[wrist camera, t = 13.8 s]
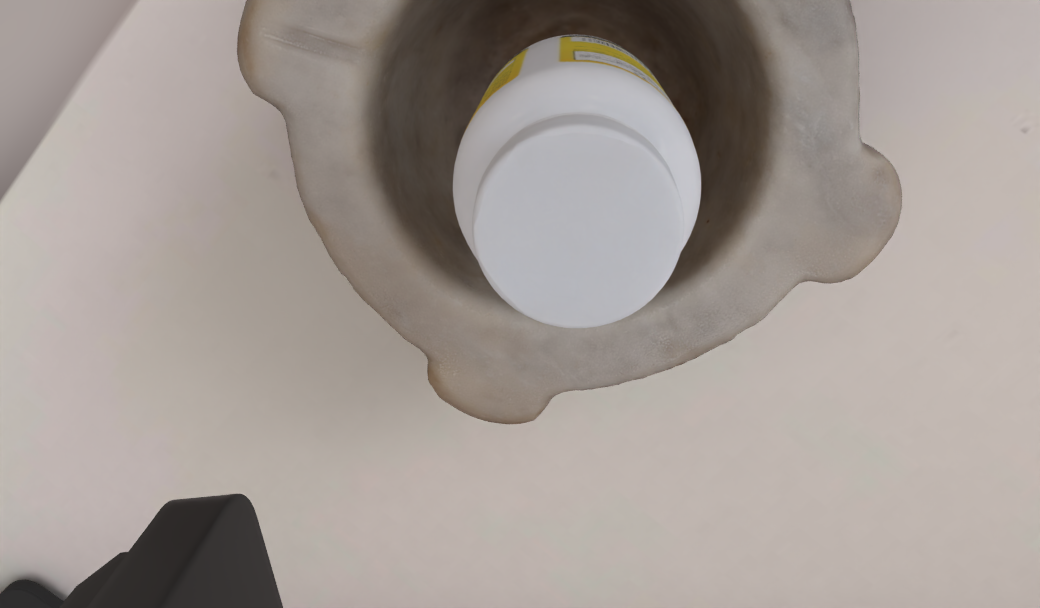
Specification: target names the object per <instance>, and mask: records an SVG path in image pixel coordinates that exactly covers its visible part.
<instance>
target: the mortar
mask: <svg viewBox="0 0 1040 608" xmlns="http://www.w3.org/2000/svg"><path fill="white" fill-rule="evenodd" d="M562 35H588V36H594V37H598V38H601V39H605V40H608V41H610V42H613V43H615V44H617V45H619V46H621V47H623V48H624V49H626V50H627V51H629V52H630V53H632V54H633V55H635V56H636V57H637V58H638V59H639V60H641V61H642V62H643V63H644V64H645V65H646V66H647V67H648V68H649V70H650V71H651V72H652V73H653V75H654V77H655V78H656V79H657V81H658V82H659V84H660V85H661V87H662V88H663V90H664V92H665V93H666V95H667V96H668V98H669V99H670V101H671V102H672V104H673V106H674V107H675V109H676V110H677V111H678V113H679V114H680V116H681V118H682V119H683V121H684V123H685V125H686V126H687V129H688V131H689V133H690V136H691V138H692V141H693V143H694V147H695V150H696V153H697V157H698V161H699V166H700V173H701V199H700V206H699V210H698V215H697V219H696V222H695V225H694V227H693V230H692V232H691V235H690V237H689V239H688V241H687V243H686V245H685V246H684V248H683V250H682V251H681V253H680V256H679V259H678V261H677V264H676V266H675V268H674V270H673V272H672V274H671V276H670V278H669V279H668V281H667V282H666V284H665V285H664V286H663V288H662V289H661V290H660V291H659V292H658V293H657V294H656V296H655V297H654V298H653V299H652V300H651V301H649V302H648V303H647V304H646V305H645V306H643V307H642V308H641V309H639V310H638V311H636V312H635V313H633V314H631V315H629V316H627V317H625V318H623V319H621V320H619V321H616V322H613V323H610V324H606V325H602V326H598V327H591V328H563V327H557V326H552V325H548V324H544V323H541V322H539V321H536V320H534V319H532V318H530V317H527V316H525V315H524V314H522V313H521V312H519V311H517V310H515V309H514V308H513V307H512V306H510V305H509V304H508V303H507V302H506V301H505V300H504V299H502V298H501V297H500V296H499V294H498V293H497V292H496V291H495V290H494V289H493V287H492V286H491V285H490V283H489V282H488V280H487V279H486V277H485V275H484V273H483V271H482V269H481V267H480V265H479V262H478V260H477V259H476V257H475V256H474V254H473V253H472V251H471V249H470V247H469V246H468V244H467V242H466V240H465V237H464V235H463V233H462V231H461V228H460V226H459V223H458V219H457V216H456V212H455V206H454V198H453V174H454V165H455V161H456V157H457V153H458V149H459V146H460V143H461V140H462V137H463V135H464V133H465V130H466V128H467V126H468V124H469V122H470V120H471V118H472V116H473V115H474V113H475V111H476V109H477V107H478V106H479V104H480V102H481V100H482V98H483V96H484V94H485V92H486V90H487V89H488V87H489V85H490V83H491V81H492V80H493V79H494V77H495V76H496V74H497V73H498V72H499V71H500V70H501V68H502V67H503V66H504V65H505V64H506V63H507V62H508V61H509V60H510V59H511V58H513V57H514V56H515V55H516V54H517V53H519V52H521V51H522V50H524V49H525V48H527V47H529V46H531V45H533V44H534V43H537V42H539V41H542V40H545V39H548V38H552V37H556V36H562ZM237 55H238V62H239V66H240V70H241V73H242V75H243V77H244V79H245V81H246V83H247V84H248V86H249V88H250V89H251V91H252V92H253V94H255V95H256V96H258V97H260V98H262V99H264V100H265V101H267V102H269V103H270V104H272V105H273V106H274V107H276V108H277V109H278V110H279V111H280V112H281V113H282V115H283V117H284V119H285V122H286V127H287V132H288V138H289V143H290V149H291V157H292V160H293V164H294V170H295V177H296V183H297V188H298V191H299V194H300V197H301V200H302V202H303V205H304V208H305V210H306V213H307V215H308V218H309V220H310V222H311V223H312V225H313V226H314V228H315V229H316V231H317V233H318V235H319V236H320V238H321V239H322V241H323V243H324V245H325V247H326V249H327V251H328V253H329V255H330V257H331V259H332V260H333V262H334V263H335V265H336V267H337V268H338V270H339V271H340V273H341V274H342V275H344V276H345V277H346V278H347V280H348V281H349V283H350V284H351V285H352V287H353V288H354V290H355V291H356V292H357V293H358V294H359V296H360V297H361V298H362V299H363V300H364V301H365V302H366V303H367V304H368V305H370V306H371V307H372V308H373V309H374V310H375V311H376V312H377V313H378V314H380V316H381V317H382V318H383V319H384V320H385V321H387V322H388V323H389V325H390V326H391V327H393V328H394V329H395V330H396V331H397V332H398V333H399V334H400V335H401V336H402V337H403V338H404V339H405V340H407V341H408V342H410V343H411V344H413V345H414V346H416V347H417V348H419V349H420V350H421V351H422V352H424V354H425V355H426V356H427V359H428V370H427V371H428V380H429V383H430V384H431V385H432V387H433V389H434V390H435V392H436V393H437V395H438V396H439V397H440V398H441V399H442V400H444V401H445V402H447V403H448V404H450V405H451V406H453V407H455V408H456V409H458V410H460V411H462V412H464V413H466V414H468V415H470V416H472V417H475V418H478V419H481V420H484V421H488V422H494V423H501V424H521V423H525V422H529V421H533V420H535V419H536V417H537V416H539V414H540V413H541V412H542V411H543V410H544V408H545V407H546V406H547V405H548V403H549V402H550V400H551V399H552V398H553V397H554V396H555V395H557V394H559V393H562V392H566V391H572V390H587V389H595V388H601V387H608V386H613V385H619V384H621V383H624V382H627V381H631V380H636V379H641V378H645V377H647V376H650V375H652V374H655V373H658V372H662V371H665V370H668V369H671V368H673V367H675V366H678V365H681V364H683V363H685V362H687V361H689V360H692V359H695V358H697V357H699V356H700V355H702V354H704V353H706V352H708V351H710V350H712V349H714V348H715V347H717V346H719V345H721V344H724V343H726V342H728V341H731V340H732V339H733V338H734V337H735V336H736V335H737V334H739V333H741V332H742V331H743V330H745V329H747V328H749V327H751V326H754V325H755V324H757V323H758V322H759V321H761V320H762V319H763V318H765V317H766V316H767V315H768V313H769V312H770V311H771V310H772V309H773V308H774V307H775V306H776V305H777V303H778V302H779V301H781V300H782V299H783V298H784V297H785V296H786V294H787V293H788V292H789V291H790V290H792V289H793V288H794V287H795V286H796V285H797V284H799V283H801V282H805V281H814V282H820V283H837V282H842V281H845V280H848V279H851V278H852V277H854V276H856V275H857V274H858V273H860V272H861V271H862V270H863V269H864V268H865V267H866V266H868V265H869V264H870V263H871V262H872V261H873V260H874V259H875V258H876V256H877V255H878V254H879V253H880V251H881V250H882V249H883V248H884V246H885V245H886V243H887V242H888V241H889V239H890V238H891V237H892V235H893V234H894V231H895V229H896V227H897V224H898V221H899V218H900V213H901V208H902V190H901V184H900V180H899V177H898V174H897V172H896V170H895V169H894V167H893V166H892V164H891V163H890V162H889V161H888V160H887V159H886V158H885V157H884V156H883V155H882V154H881V153H879V152H878V151H876V150H875V149H874V148H872V147H870V146H869V145H867V144H865V143H863V142H862V141H861V139H860V135H859V100H860V93H859V52H858V41H857V32H856V24H855V18H854V15H853V13H852V8H851V4H850V1H849V0H247V1H246V4H245V7H244V11H243V14H242V18H241V22H240V27H239V32H238V43H237Z"/></svg>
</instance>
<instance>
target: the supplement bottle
mask: <svg viewBox="0 0 1040 608" xmlns="http://www.w3.org/2000/svg"><path fill="white" fill-rule="evenodd" d="M453 198H454V206H455V212H456V216H457V219H458V223H459V226H460V228H461V231H462V233H463V235H464V237H465V240H466V242H467V244H468V246H469V247H470V249H471V251H472V253H473V254H474V256H475V257H476V259H477V260H478V262H479V265H480V267H481V269H482V271H483V273H484V275H485V277H486V279H487V280H488V282H489V283H490V285H491V286H492V287H493V289H494V290H495V291H496V292H497V293H498V294H499V296H500V297H501V298H502V299H504V300H505V301H506V302H507V303H508V304H509V305H510V306H512V307H513V308H514V309H515V310H517V311H519V312H521V313H522V314H524V315H525V316H527V317H530V318H532V319H534V320H536V321H539V322H541V323H544V324H548V325H552V326H557V327H563V328H591V327H598V326H602V325H606V324H610V323H613V322H616V321H619V320H621V319H623V318H625V317H627V316H629V315H631V314H633V313H635V312H636V311H638V310H639V309H641V308H642V307H643V306H645V305H646V304H647V303H648V302H649V301H651V300H652V299H653V298H654V297H655V296H656V294H657V293H658V292H659V291H660V290H661V289H662V288H663V286H664V285H665V284H666V282H667V281H668V279H669V278H670V276H671V274H672V272H673V270H674V268H675V266H676V264H677V261H678V259H679V256H680V253H681V251H682V250H683V248H684V246H685V245H686V243H687V241H688V239H689V237H690V235H691V232H692V230H693V227H694V225H695V222H696V219H697V215H698V210H699V206H700V199H701V173H700V166H699V161H698V157H697V153H696V150H695V147H694V143H693V141H692V138H691V136H690V133H689V131H688V129H687V126H686V125H685V123H684V121H683V119H682V118H681V116H680V114H679V113H678V111H677V110H676V109H675V107H674V106H673V104H672V102H671V101H670V99H669V98H668V96H667V95H666V93H665V92H664V90H663V88H662V87H661V85H660V84H659V82H658V81H657V79H656V78H655V77H654V75H653V73H652V72H651V71H650V70H649V68H648V67H647V66H646V65H645V64H644V63H643V62H642V61H641V60H639V59H638V58H637V57H636V56H635V55H633V54H632V53H630V52H629V51H627V50H626V49H624V48H623V47H621V46H619V45H617V44H615V43H613V42H610V41H608V40H605V39H601V38H598V37H594V36H588V35H562V36H556V37H552V38H548V39H545V40H542V41H539V42H537V43H534V44H533V45H531V46H529V47H527V48H525V49H524V50H522V51H521V52H519V53H517V54H516V55H515V56H514V57H513V58H511V59H510V60H509V61H508V62H507V63H506V64H505V65H504V66H503V67H502V68H501V70H500V71H499V72H498V73H497V74H496V76H495V77H494V79H493V80H492V81H491V83H490V85H489V87H488V89H487V90H486V92H485V94H484V96H483V98H482V100H481V102H480V104H479V106H478V107H477V109H476V111H475V113H474V115H473V116H472V118H471V120H470V122H469V124H468V126H467V128H466V130H465V133H464V135H463V137H462V140H461V143H460V146H459V149H458V153H457V157H456V161H455V165H454V174H453Z"/></svg>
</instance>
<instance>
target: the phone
mask: <svg viewBox="0 0 1040 608" xmlns="http://www.w3.org/2000/svg"><path fill="white" fill-rule="evenodd" d="M63 603H64V602H63V601H62V600H61V599H59V598H58V597H57V596H55V595H54V594H52V593H51V592H50V591H48V590H47V589H45V588H44V587H43V586H41V585H39V584H37V583H35V582H33V581H29V580H19V581H15V582H13V583H12V584H10V585H9V586H8V587H7V588H6V589H5V590H4V591H3V592H2V593H1V594H0V608H60V606H61V605H62V604H63Z"/></svg>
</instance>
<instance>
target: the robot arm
mask: <svg viewBox="0 0 1040 608" xmlns="http://www.w3.org/2000/svg"><path fill="white" fill-rule="evenodd" d="M60 608H283V606H282V602H281V599H280V595H279V592H278V588H277V585H276V581H275V578H274V574H273V571H272V567H271V564H270V560H269V557H268V554H267V550H266V547H265V543H264V540H263V536H262V533H261V529H260V526H259V522H258V519H257V515H256V513H255V510H254V507H253V505H252V503H251V502H250V500H249V499H248V498H247V497H246V496H244V495H242V494H231V495H220V496H210V497H199V498H189V499H178V500H172V501H169V502H167V503H166V504H165V505H164V506H163V507H162V508H161V509H160V511H159V512H158V513H157V515H156V516H155V517H154V519H153V520H152V521H151V523H150V524H149V525H148V527H147V528H146V529H145V531H144V532H143V533H142V535H141V536H140V537H139V539H138V540H137V541H136V543H135V544H134V545H133V547H132V548H131V549H130V551H129V552H123V553H120V554H118V555H117V556H116V557H114V558H113V559H112V560H110V561H109V562H108V563H107V564H105V565H104V566H103V567H101V568H100V569H99V570H97V571H96V572H95V573H93V574H92V575H91V576H90V577H88V578H87V579H86V580H84V581H83V582H82V583H80V584H79V585H78V586H76V588H75V589H74V590H73V591H72V593H71V594H70V595H69V596H68V598H67V599H66V600H65V601H64V603H63V604H62V605H61V606H60Z"/></svg>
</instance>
